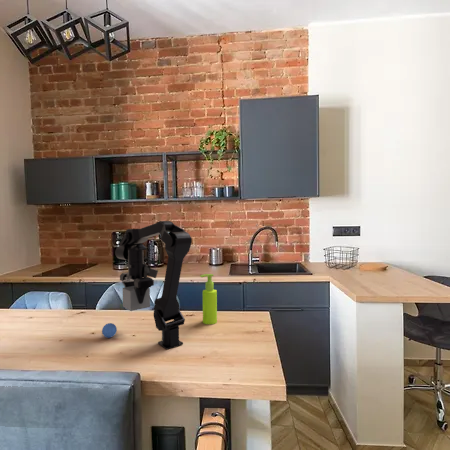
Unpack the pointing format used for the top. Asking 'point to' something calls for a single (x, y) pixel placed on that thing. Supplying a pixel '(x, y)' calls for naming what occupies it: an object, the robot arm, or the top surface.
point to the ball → (109, 330)
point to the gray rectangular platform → (134, 299)
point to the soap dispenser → (209, 302)
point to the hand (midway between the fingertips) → (136, 301)
